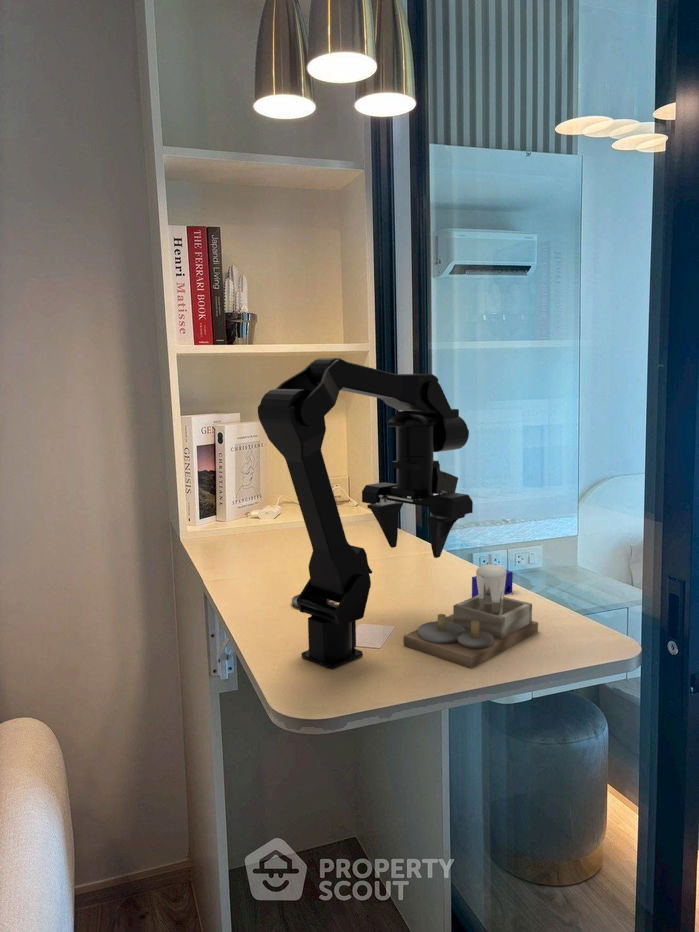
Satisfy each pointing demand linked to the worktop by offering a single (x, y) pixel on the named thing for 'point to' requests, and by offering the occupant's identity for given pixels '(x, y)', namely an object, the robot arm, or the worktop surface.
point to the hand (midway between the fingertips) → (414, 552)
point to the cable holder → (507, 584)
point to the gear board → (474, 632)
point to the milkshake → (491, 587)
